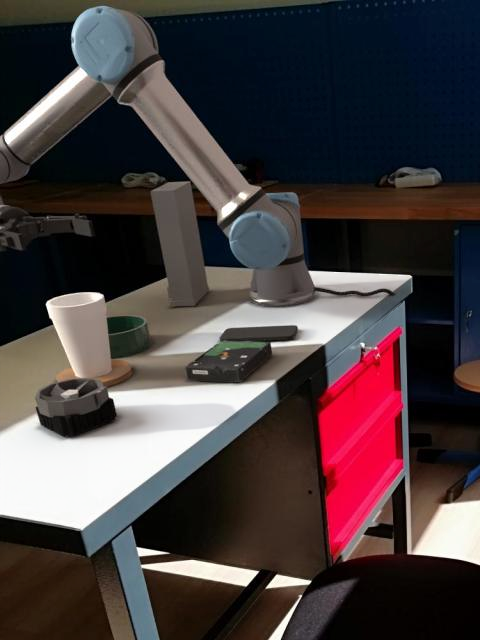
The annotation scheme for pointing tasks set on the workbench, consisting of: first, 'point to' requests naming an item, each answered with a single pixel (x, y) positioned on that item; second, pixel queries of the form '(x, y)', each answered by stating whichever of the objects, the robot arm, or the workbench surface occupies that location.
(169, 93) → the robot arm
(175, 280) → the tall grey upright pillar
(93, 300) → the foam cup
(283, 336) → the phone
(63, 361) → the workbench surface
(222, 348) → the disk drive
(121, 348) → the pot
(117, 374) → the pot holder
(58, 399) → the cpu cooler
